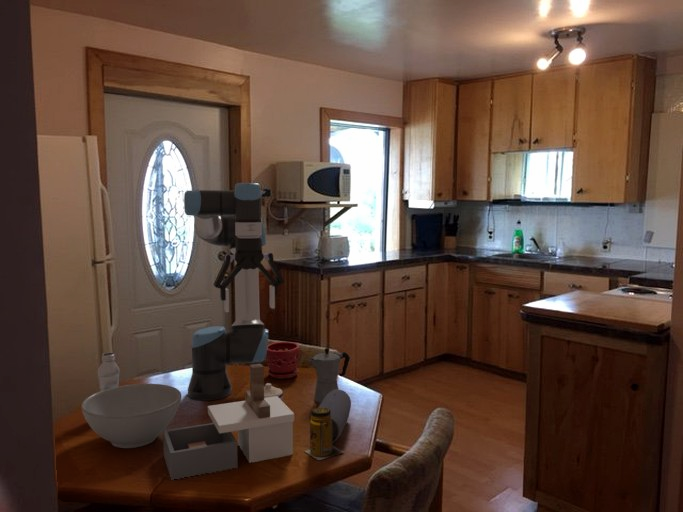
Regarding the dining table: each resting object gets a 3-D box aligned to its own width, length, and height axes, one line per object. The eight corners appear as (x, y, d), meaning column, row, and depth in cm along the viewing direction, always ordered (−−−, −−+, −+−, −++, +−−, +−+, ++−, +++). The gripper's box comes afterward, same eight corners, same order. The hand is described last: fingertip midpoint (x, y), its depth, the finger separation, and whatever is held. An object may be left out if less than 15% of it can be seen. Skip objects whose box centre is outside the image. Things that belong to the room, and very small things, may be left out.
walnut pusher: (245, 401, 162) (244, 359, 161) (255, 399, 163) (255, 358, 162) (259, 418, 149) (258, 373, 148) (270, 416, 150) (269, 372, 149)
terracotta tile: (204, 441, 156) (204, 449, 157) (187, 444, 154) (188, 452, 155) (207, 447, 152) (207, 456, 152) (190, 450, 150) (190, 459, 151)
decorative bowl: (140, 415, 183) (139, 378, 182) (201, 432, 170) (200, 393, 168) (62, 446, 160) (60, 404, 159) (126, 469, 147) (124, 423, 145)
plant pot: (269, 370, 231) (269, 341, 230) (302, 371, 229) (301, 341, 228) (262, 380, 218) (261, 349, 217) (296, 381, 216) (296, 350, 215)
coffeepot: (315, 406, 190) (315, 354, 189) (304, 398, 199) (303, 347, 197) (355, 399, 198) (356, 348, 196) (342, 391, 206) (343, 342, 204)
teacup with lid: (276, 427, 173) (275, 390, 172) (249, 424, 176) (248, 387, 175) (291, 413, 185) (291, 378, 184) (265, 410, 187) (265, 375, 186)
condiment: (304, 451, 157) (303, 409, 156) (329, 443, 162) (329, 402, 161) (318, 461, 151) (318, 417, 150) (344, 453, 156) (344, 410, 155)
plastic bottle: (126, 413, 184) (123, 352, 182) (109, 420, 178) (107, 358, 176) (111, 410, 187) (109, 350, 185) (94, 417, 181) (92, 355, 179)
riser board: (208, 447, 159) (207, 406, 158) (277, 435, 167) (277, 395, 166) (220, 471, 146) (219, 425, 144) (294, 456, 154) (294, 413, 152)
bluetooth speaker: (323, 417, 181) (323, 386, 180) (352, 419, 180) (352, 388, 179) (308, 448, 159) (308, 413, 158) (341, 450, 157) (341, 415, 156)
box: (163, 455, 154) (163, 430, 154) (224, 445, 161) (224, 421, 160) (171, 480, 141) (170, 453, 140) (237, 468, 147) (237, 441, 147)
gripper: (207, 239, 156) (209, 315, 159) (294, 236, 166) (294, 308, 169) (202, 237, 163) (204, 310, 165) (285, 235, 173) (286, 304, 175)
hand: (249, 309), depth 167 cm, fingers open, 13 cm apart
